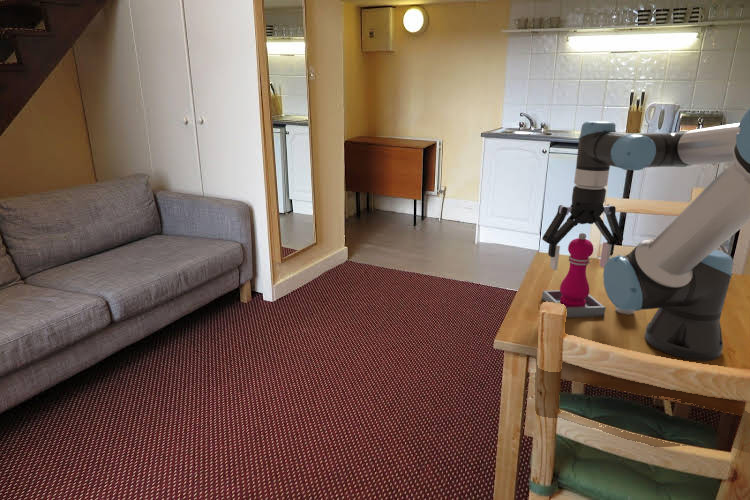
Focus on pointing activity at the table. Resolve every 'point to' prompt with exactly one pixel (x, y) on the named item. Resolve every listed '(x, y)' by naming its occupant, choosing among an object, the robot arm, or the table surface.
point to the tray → (590, 309)
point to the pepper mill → (577, 273)
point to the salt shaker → (624, 311)
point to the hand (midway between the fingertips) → (578, 268)
